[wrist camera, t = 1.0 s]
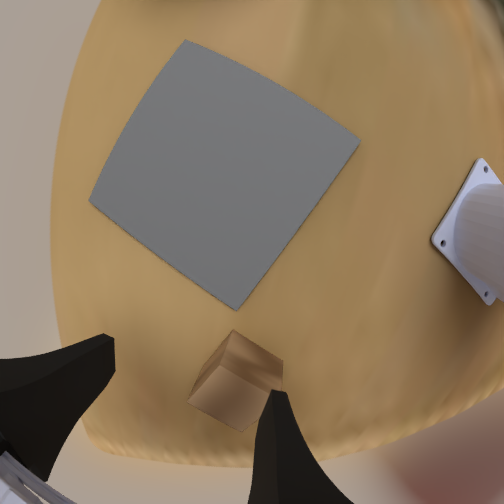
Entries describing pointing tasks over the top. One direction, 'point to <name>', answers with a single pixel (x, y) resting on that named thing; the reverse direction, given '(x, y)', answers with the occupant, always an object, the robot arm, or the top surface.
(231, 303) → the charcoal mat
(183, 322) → the top surface
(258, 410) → the oak cube
